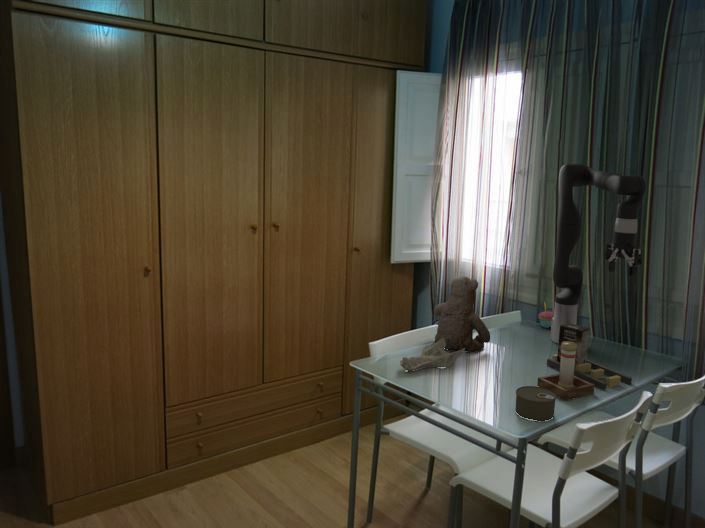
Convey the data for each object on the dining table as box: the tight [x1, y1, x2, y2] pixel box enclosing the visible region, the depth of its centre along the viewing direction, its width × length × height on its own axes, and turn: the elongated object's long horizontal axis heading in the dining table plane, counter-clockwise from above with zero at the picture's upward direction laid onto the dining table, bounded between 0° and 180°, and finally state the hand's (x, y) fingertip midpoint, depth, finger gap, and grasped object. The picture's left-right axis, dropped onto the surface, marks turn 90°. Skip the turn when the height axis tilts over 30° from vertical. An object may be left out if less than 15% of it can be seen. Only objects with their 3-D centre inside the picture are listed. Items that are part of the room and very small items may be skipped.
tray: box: [536, 372, 596, 401], centre depth 207 cm, size 13×13×3 cm
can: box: [515, 385, 557, 421], centre depth 188 cm, size 12×12×7 cm
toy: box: [433, 275, 491, 353], centre depth 249 cm, size 26×20×30 cm
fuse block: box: [546, 353, 633, 391], centre depth 223 cm, size 28×14×3 cm, turn 26°
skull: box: [399, 338, 466, 372], centre depth 228 cm, size 12×8×25 cm
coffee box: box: [556, 323, 591, 369], centre depth 228 cm, size 9×6×16 cm
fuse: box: [558, 341, 577, 389], centre depth 206 cm, size 5×5×16 cm
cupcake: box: [537, 300, 554, 329], centre depth 281 cm, size 9×8×12 cm
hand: (621, 274), depth 224 cm, fingers open, 8 cm apart
